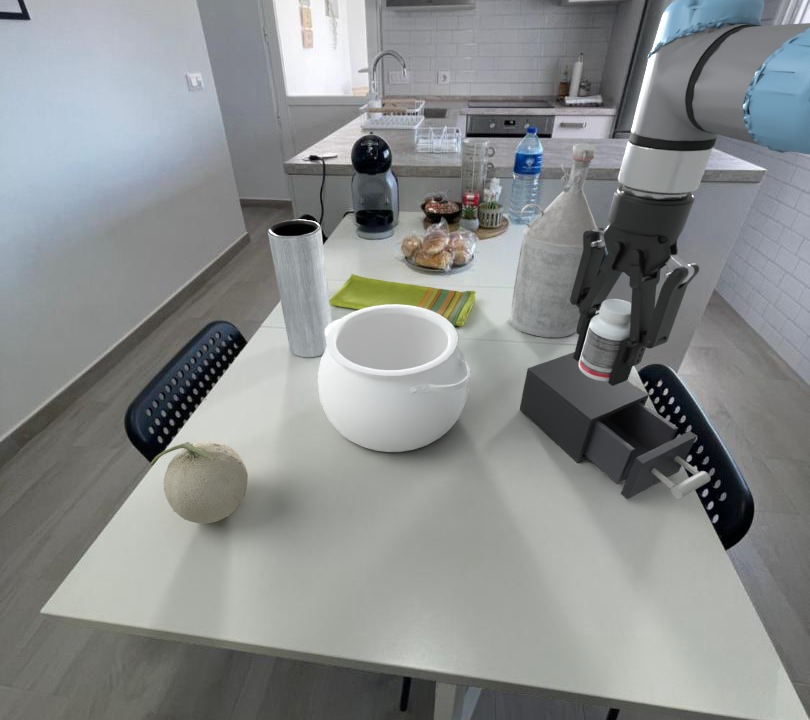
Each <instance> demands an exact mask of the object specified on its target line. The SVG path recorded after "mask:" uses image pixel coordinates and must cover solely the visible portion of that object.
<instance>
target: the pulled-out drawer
mask: <svg viewBox="0 0 810 720" xmlns="http://www.w3.org/2000/svg"><path fill="white" fill-rule="evenodd" d="M678 429H679V427H677V426H676V425H674V424H673V423H672V422H670V421H669V420H668V419H666V418H664V417H663V416H661V415H660V414H659V413H658V412H656V411H655V410H653V409H652V408H650V407H649V406H647V405H646V404H645V405H644V404H643V403H641V402H638V403H636V404H634V405H631V406H629V407H627V408H624V409H622V410H620V411H617V412H615V413H613V414H611V415H608V416H606V417H604V418H601V419H599V420H597V421H595V422H594V423H593V426H592V429H591V432H590V435H589V438H588V441H587V444H586V447H585V450H584V453H583V454H584V455H585V456H586V457H587V459H588V460H590V461H591V462H592V463H593V464H594V465H595V466H596V467H597V468H599V469H600V470H601V471H602V473H604V474H605V475H606V476H607V477H608V478H609V479H610V480H612V481H613V482H614V483H615V484H616V485H619V484H621V483H622V482H625V483H624V485H623V487H622V490H621V492H620V495H621V496H622V497H623V498H624V499H626V500H629V499H632V498H633V497H635V496H636V495H639V494H640V493H643V492H644V491H646V490H648V489H650V488H651V487H653V486H655V485H656V484H658V483H661V482H662V483H663V484H665V485H666V486H667V487H668V488H669V489H670V492H671V494H672V495H673V496H674V498H676V499H682V498H683V497H685V496H687V495H689V494H690V493H692V492H694V491H696V490H697V489H700V487H702V486H704V485H706V484H707V483H709V482H710V481H711V475H710V474H709V472H706V471H704V470H701V471H699V470H698V469H697V468H695V467H694V466H692V464H689V463H688V462H687V461H686V458H687V456H688V455H689V453H690V451H691V450H692V449H691V448H692V447H693V445H694V443H695V441H696V439H697V437H698V436H697V435H696V434H695V433H693V432H692V431H690V430H689V431H687V432H685V433H683V434H681V435H679V436H677V437H675V436H676V434H677V431H678ZM682 467H683V468H684V469H686V470H687V471H688V472H689V473H690V474H692V476H690V477H688V478H686V479H684V480H682V481H680V482H679V483H676V484H675V483H674V482H673V481H671V480H670V479H669V477H671V476H673V475H675V474H677V473H678V472H680V469H681V468H682Z"/></svg>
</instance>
